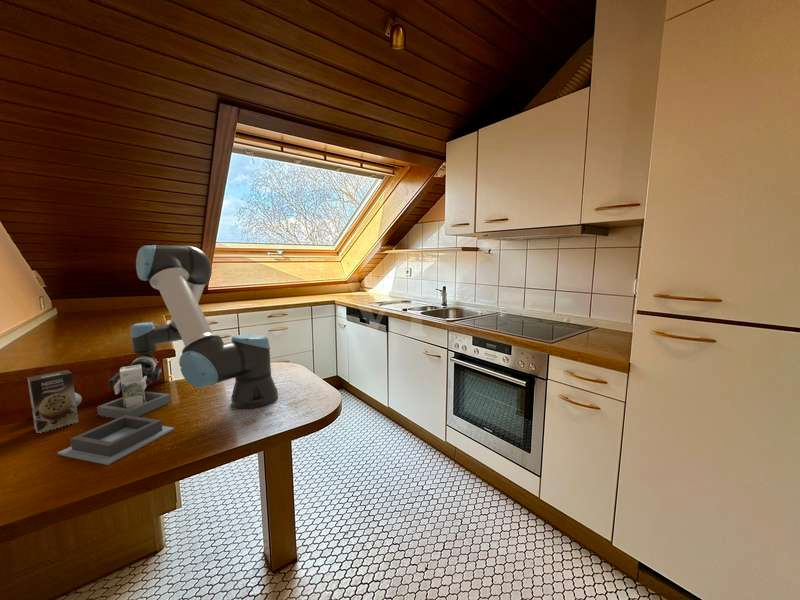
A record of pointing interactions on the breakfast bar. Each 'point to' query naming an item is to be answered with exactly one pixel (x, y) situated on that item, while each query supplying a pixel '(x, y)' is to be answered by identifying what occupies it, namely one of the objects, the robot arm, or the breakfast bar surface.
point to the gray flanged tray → (115, 439)
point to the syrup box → (132, 386)
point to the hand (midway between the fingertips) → (129, 387)
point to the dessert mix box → (52, 400)
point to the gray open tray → (117, 410)
